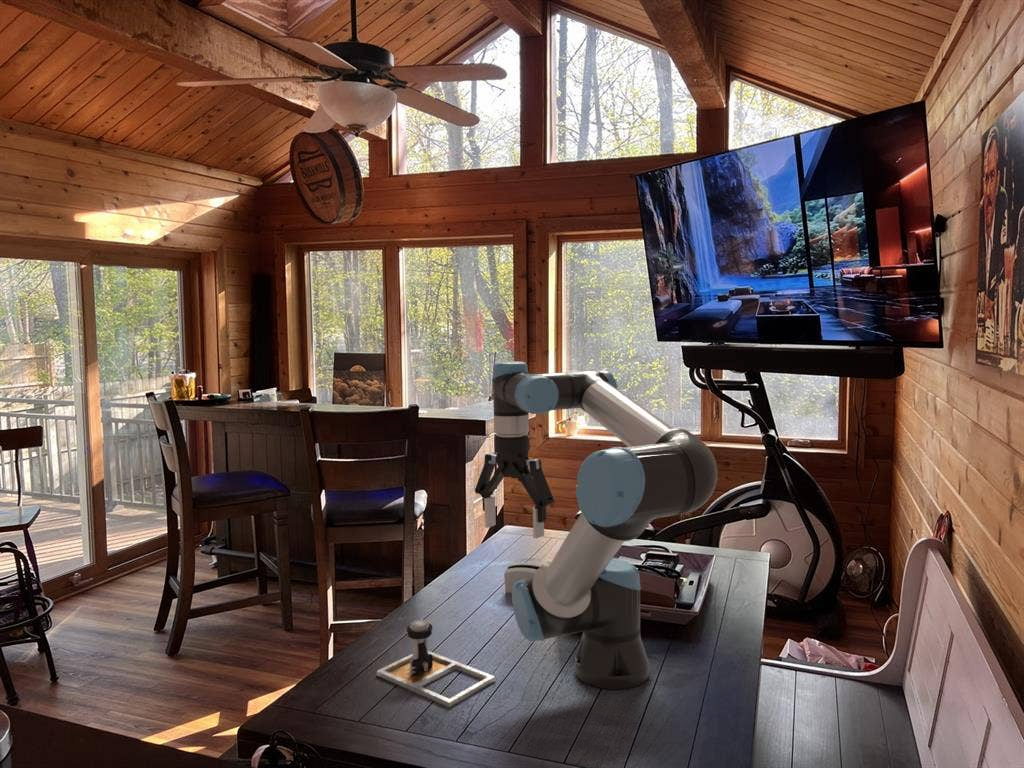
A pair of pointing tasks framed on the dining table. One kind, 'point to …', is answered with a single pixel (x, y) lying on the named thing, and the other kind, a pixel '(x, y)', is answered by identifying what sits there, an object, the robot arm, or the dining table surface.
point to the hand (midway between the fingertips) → (514, 531)
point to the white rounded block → (519, 573)
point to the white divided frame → (433, 677)
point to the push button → (420, 646)
